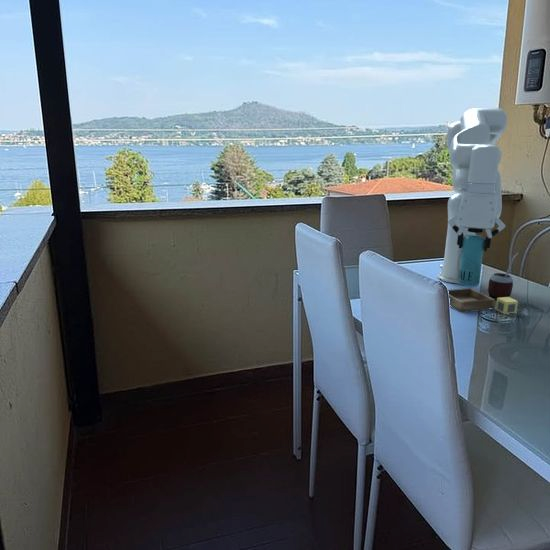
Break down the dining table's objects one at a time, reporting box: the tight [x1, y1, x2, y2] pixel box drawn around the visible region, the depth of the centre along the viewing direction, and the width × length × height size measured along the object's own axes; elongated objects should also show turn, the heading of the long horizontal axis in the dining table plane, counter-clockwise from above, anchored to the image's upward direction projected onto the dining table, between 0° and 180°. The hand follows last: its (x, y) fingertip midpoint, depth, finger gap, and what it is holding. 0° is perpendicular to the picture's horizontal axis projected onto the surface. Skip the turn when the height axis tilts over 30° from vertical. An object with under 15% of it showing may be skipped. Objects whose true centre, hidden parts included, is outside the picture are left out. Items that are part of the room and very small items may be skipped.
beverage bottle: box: [458, 228, 486, 287], centre depth 141 cm, size 6×7×20 cm
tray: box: [447, 287, 496, 313], centre depth 145 cm, size 12×12×3 cm
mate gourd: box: [487, 252, 519, 300], centre depth 148 cm, size 8×8×15 cm
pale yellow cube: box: [495, 296, 519, 315], centre depth 138 cm, size 4×4×4 cm
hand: (472, 248), depth 140 cm, fingers closed on beverage bottle, 6 cm apart
